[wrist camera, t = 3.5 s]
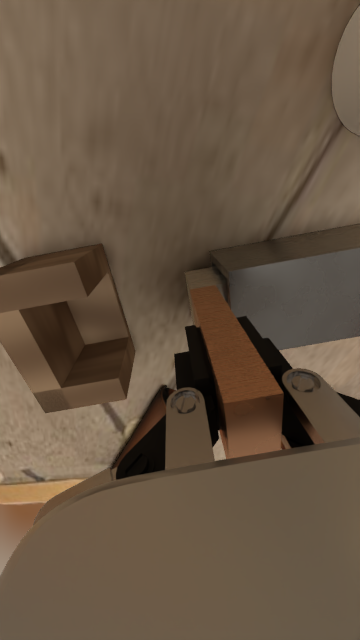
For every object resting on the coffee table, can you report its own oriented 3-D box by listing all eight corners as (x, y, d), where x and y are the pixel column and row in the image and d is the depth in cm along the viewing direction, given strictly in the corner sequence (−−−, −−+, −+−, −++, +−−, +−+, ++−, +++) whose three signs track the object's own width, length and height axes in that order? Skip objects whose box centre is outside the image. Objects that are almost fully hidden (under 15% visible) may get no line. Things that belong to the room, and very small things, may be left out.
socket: (24, 258, 17) (-38, 282, 12) (101, 243, 17) (74, 262, 12) (74, 362, 22) (45, 413, 17) (135, 351, 22) (126, 399, 17)
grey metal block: (209, 251, 18) (228, 271, 13) (387, 218, 18) (483, 225, 12) (216, 318, 21) (234, 358, 15) (370, 290, 20) (443, 321, 15)
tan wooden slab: (184, 272, 18) (224, 403, 6) (366, 238, 17) (769, 310, 6) (191, 317, 19) (232, 485, 8) (356, 288, 19) (647, 417, 8)
